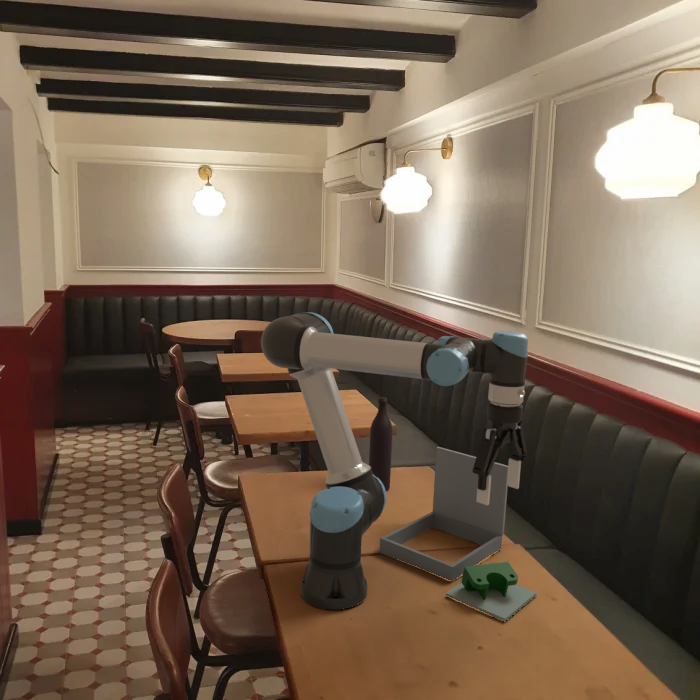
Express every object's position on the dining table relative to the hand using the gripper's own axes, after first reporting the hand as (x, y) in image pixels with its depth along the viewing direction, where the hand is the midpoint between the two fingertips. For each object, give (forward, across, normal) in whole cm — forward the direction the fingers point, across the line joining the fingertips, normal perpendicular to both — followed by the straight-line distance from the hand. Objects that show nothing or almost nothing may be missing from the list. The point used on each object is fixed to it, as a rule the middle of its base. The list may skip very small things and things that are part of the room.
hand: (498, 494), depth 154 cm
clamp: (+24, 0, 0) cm, 24 cm away
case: (+25, +11, +21) cm, 34 cm away
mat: (+25, 0, 0) cm, 25 cm away
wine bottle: (+25, +34, +60) cm, 73 cm away
